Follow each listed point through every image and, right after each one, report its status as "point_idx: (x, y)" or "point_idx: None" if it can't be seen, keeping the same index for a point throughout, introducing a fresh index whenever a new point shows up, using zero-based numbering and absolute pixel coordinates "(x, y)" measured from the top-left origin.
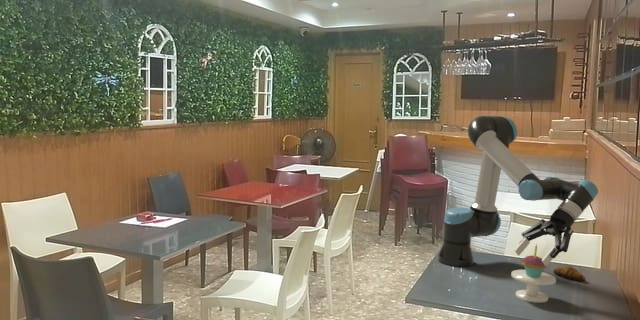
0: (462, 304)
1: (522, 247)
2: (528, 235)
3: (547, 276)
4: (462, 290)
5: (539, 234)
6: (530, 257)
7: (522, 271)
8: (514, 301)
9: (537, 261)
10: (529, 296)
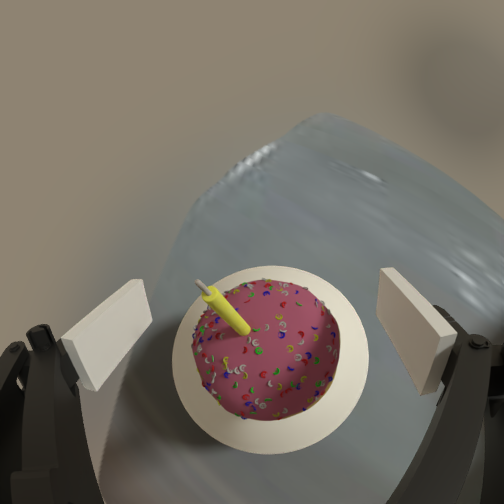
0: (271, 158)
1: (398, 323)
2: (461, 363)
3: (240, 418)
4: (365, 199)
5: (401, 487)
6: (262, 308)
7: (341, 352)
8: None
9: (210, 322)
10: None
